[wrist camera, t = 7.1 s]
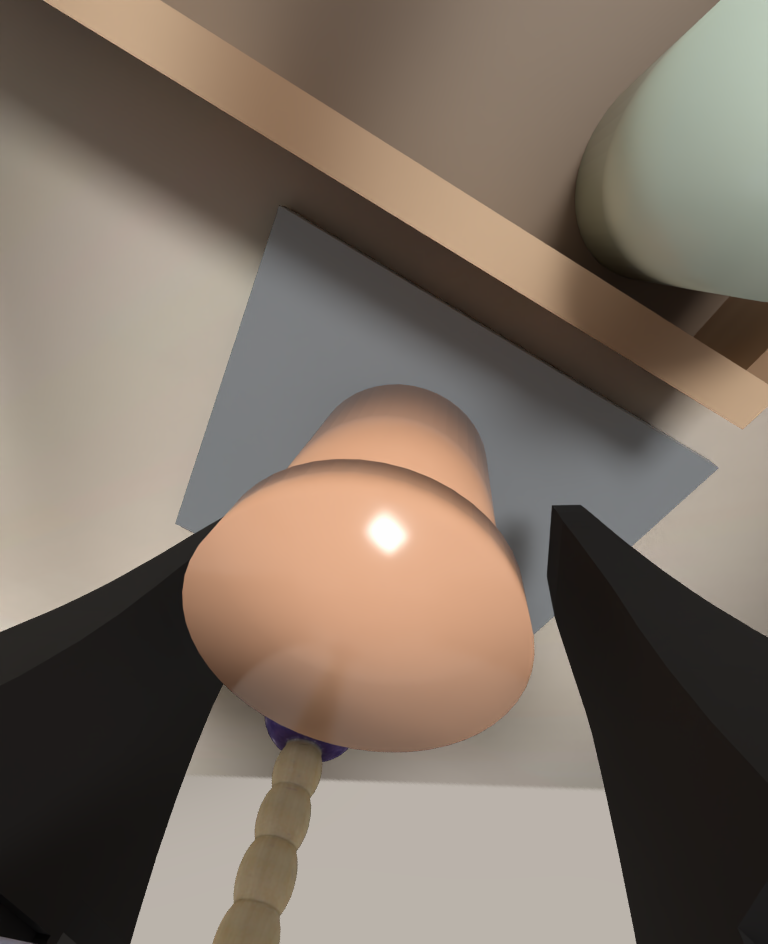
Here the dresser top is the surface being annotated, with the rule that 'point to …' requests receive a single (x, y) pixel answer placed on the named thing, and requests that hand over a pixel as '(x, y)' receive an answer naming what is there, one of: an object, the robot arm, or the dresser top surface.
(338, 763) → the dresser top surface
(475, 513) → the terracotta pot
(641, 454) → the mat
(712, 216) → the pale green egg
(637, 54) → the wooden tray
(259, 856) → the toy lamp
